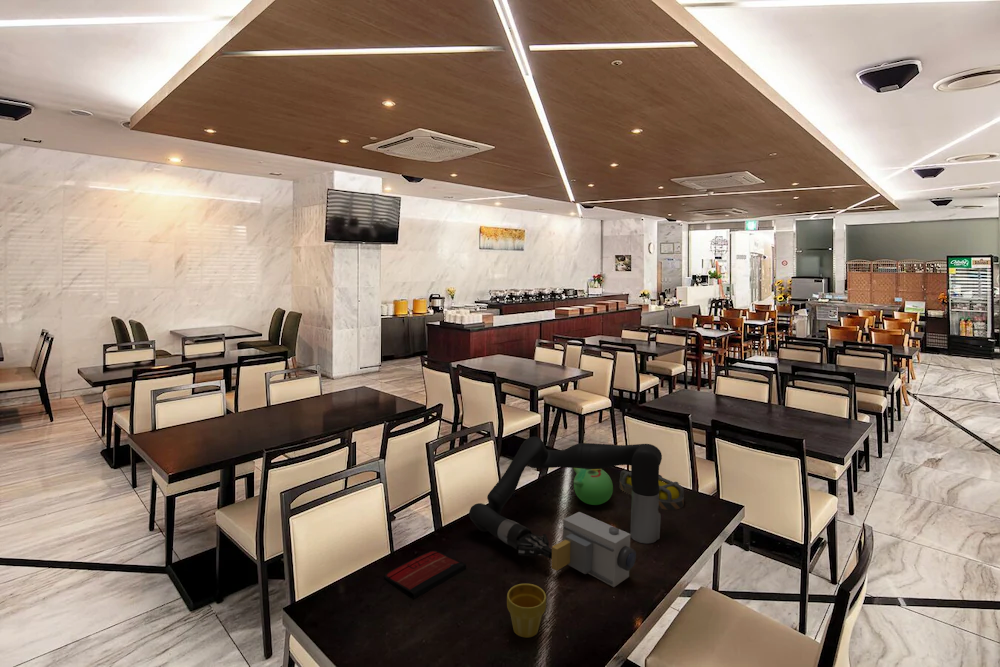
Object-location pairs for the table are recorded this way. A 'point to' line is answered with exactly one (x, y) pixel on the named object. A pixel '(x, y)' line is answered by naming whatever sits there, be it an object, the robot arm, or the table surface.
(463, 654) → the table surface
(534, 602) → the plant pot
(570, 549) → the door
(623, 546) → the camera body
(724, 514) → the table surface
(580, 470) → the toy bird
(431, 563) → the binder
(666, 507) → the cage light
